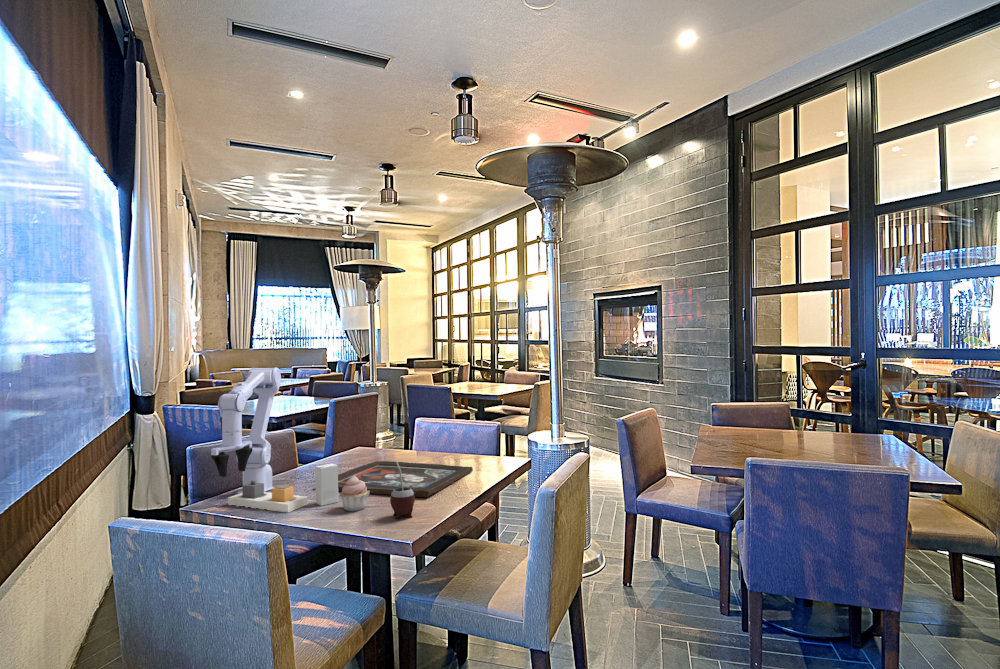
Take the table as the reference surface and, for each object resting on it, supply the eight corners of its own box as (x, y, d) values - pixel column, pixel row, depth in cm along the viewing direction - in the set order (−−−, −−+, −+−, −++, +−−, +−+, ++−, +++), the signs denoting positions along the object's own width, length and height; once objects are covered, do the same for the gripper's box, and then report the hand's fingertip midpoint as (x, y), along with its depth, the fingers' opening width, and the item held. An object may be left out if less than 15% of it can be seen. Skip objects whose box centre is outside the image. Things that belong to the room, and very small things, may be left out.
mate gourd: (406, 521, 163) (405, 469, 163) (383, 518, 166) (382, 467, 166) (420, 513, 170) (419, 463, 170) (397, 511, 173) (396, 461, 173)
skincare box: (332, 499, 186) (332, 462, 186) (339, 502, 183) (338, 464, 183) (314, 503, 182) (314, 465, 182) (321, 506, 179) (320, 467, 179)
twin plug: (252, 500, 187) (251, 479, 187) (264, 501, 185) (263, 480, 185) (242, 503, 183) (242, 482, 183) (254, 505, 181) (254, 483, 181)
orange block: (281, 504, 182) (281, 484, 182) (293, 505, 181) (293, 485, 181) (272, 507, 179) (271, 487, 179) (284, 509, 177) (284, 488, 177)
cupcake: (373, 503, 181) (372, 472, 181) (366, 512, 172) (365, 479, 172) (343, 504, 181) (343, 472, 181) (335, 513, 172) (334, 480, 172)
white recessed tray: (249, 497, 190) (249, 489, 190) (308, 504, 182) (307, 496, 182) (228, 505, 182) (227, 497, 182) (288, 512, 173) (287, 503, 173)
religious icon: (431, 500, 185) (431, 490, 185) (314, 491, 199) (314, 482, 199) (476, 472, 223) (476, 465, 223) (375, 467, 237) (375, 459, 237)
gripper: (223, 435, 174) (223, 479, 174) (258, 428, 188) (259, 469, 188) (205, 434, 177) (206, 478, 177) (242, 427, 190) (242, 467, 190)
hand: (232, 473), depth 182 cm, fingers open, 7 cm apart
